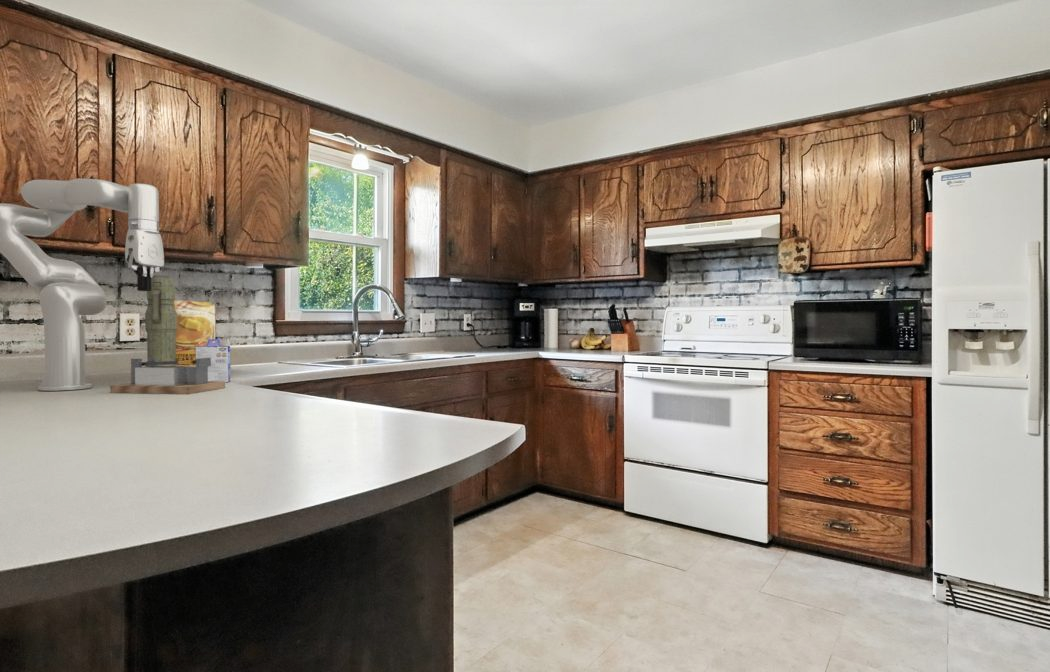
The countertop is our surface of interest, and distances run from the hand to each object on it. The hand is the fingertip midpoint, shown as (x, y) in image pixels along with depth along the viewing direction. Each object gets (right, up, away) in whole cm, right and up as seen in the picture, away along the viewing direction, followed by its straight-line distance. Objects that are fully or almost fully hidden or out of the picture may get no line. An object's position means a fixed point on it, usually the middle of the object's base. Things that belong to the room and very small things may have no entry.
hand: (144, 290), depth 171 cm
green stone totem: (-8, -29, +21) cm, 36 cm away
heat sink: (+7, -27, +1) cm, 28 cm away
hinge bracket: (-1, -27, +2) cm, 27 cm away
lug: (+16, -27, -1) cm, 32 cm away
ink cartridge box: (+7, -29, +25) cm, 39 cm away
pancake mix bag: (-8, -29, +35) cm, 46 cm away
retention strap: (+7, -22, 0) cm, 23 cm away
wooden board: (+7, -29, +1) cm, 30 cm away
